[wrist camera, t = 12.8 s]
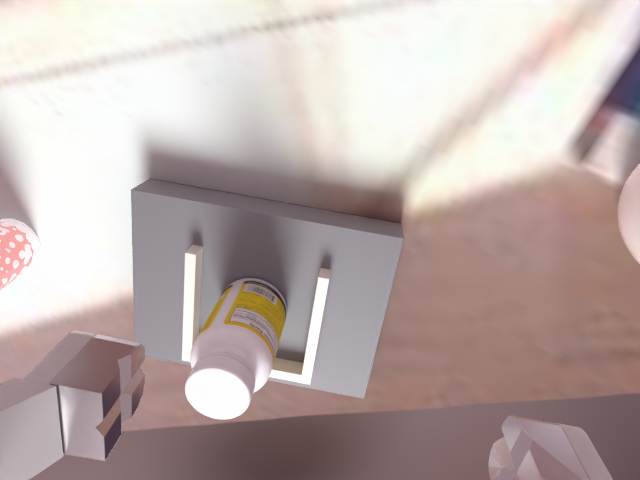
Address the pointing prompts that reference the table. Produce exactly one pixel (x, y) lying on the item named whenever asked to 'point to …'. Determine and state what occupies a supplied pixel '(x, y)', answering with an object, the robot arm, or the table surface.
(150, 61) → the table surface
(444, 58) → the table surface
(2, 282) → the beverage cup
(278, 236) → the dock
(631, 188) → the lidded jar
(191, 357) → the supplement bottle
